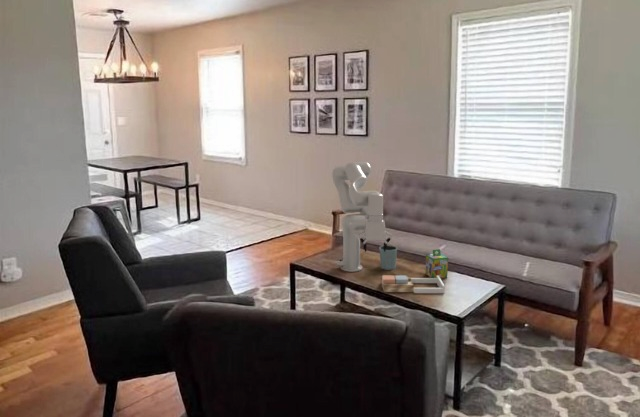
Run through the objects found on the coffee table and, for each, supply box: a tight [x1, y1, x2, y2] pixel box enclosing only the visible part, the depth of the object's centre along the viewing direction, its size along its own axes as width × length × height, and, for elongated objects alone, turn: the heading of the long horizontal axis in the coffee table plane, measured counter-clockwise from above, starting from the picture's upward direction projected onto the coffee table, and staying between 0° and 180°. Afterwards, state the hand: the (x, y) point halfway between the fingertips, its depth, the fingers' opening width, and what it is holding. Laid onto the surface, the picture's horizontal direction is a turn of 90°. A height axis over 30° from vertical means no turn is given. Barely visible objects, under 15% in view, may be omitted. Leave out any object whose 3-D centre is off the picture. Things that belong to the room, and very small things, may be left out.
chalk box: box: [424, 248, 449, 279], centre depth 275 cm, size 9×9×15 cm
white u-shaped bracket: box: [410, 275, 446, 294], centre depth 259 cm, size 15×15×4 cm
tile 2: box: [394, 275, 409, 284], centre depth 259 cm, size 6×6×4 cm
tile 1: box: [381, 274, 395, 285], centre depth 259 cm, size 6×6×4 cm
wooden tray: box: [381, 277, 415, 293], centre depth 259 cm, size 15×12×4 cm
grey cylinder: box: [379, 244, 398, 271], centre depth 290 cm, size 10×10×12 cm
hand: (375, 250), depth 256 cm, fingers open, 9 cm apart
